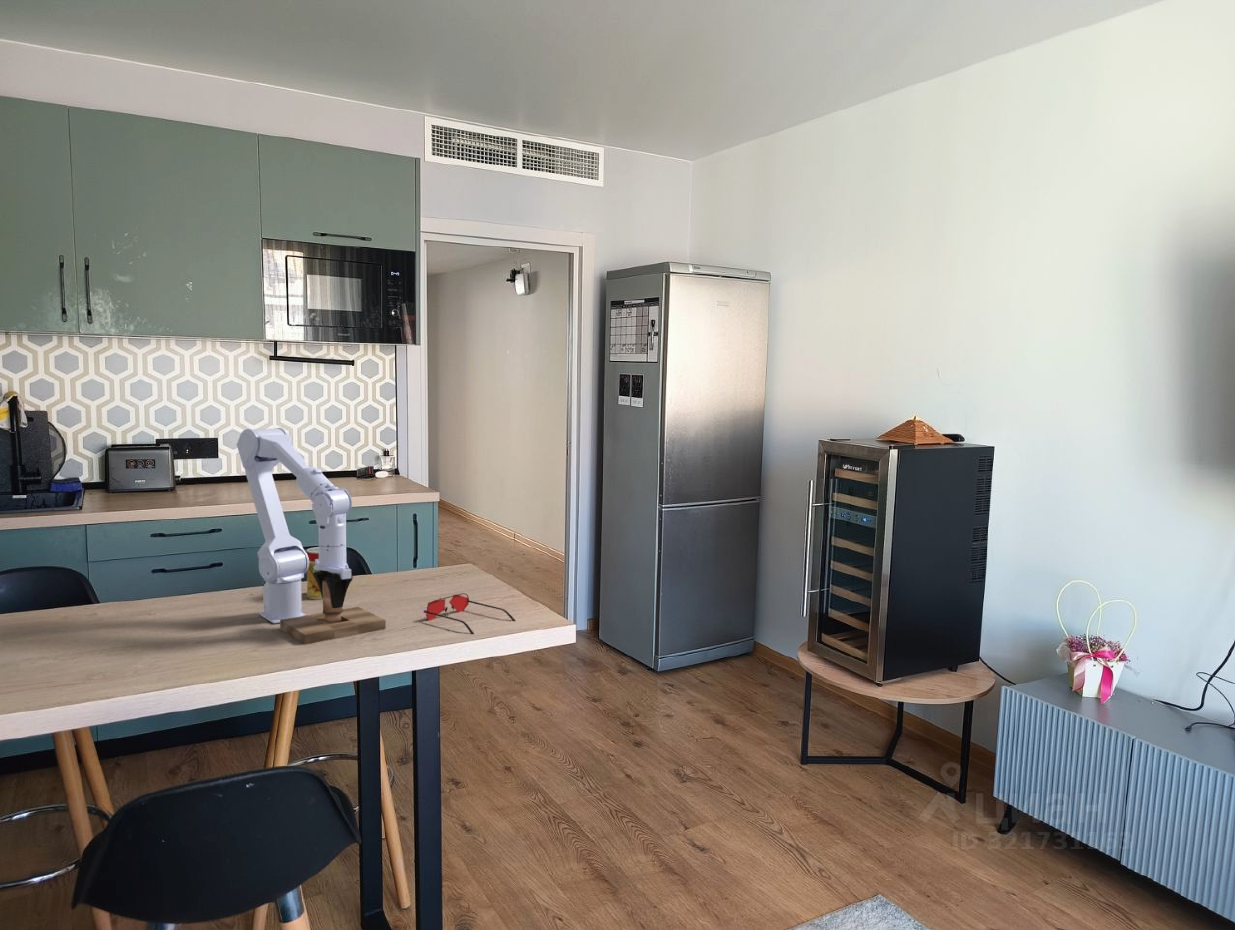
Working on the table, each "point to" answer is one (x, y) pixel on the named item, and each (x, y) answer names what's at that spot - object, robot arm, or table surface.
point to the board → (332, 625)
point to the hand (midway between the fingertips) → (333, 605)
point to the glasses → (457, 603)
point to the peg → (330, 606)
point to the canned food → (312, 583)
